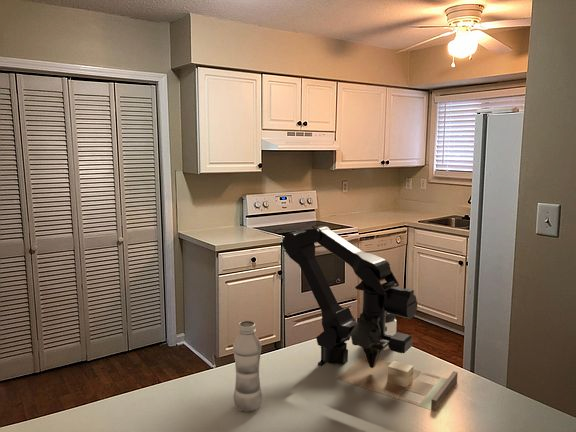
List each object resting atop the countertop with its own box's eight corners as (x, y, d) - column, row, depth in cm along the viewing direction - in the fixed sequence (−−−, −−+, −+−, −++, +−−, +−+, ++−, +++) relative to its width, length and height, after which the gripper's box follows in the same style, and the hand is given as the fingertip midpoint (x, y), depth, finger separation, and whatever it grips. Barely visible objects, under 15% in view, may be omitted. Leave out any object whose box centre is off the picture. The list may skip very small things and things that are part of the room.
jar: (379, 357, 133) (380, 316, 131) (359, 346, 140) (360, 308, 138) (401, 349, 138) (403, 310, 136) (381, 340, 145) (382, 302, 143)
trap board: (336, 384, 118) (336, 369, 118) (365, 360, 131) (365, 346, 130) (435, 417, 104) (436, 400, 103) (456, 387, 117) (457, 372, 116)
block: (387, 381, 116) (387, 366, 116) (393, 375, 120) (394, 360, 119) (406, 387, 113) (407, 372, 113) (412, 380, 117) (413, 365, 116)
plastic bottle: (240, 418, 103) (239, 331, 100) (229, 403, 109) (227, 321, 106) (267, 411, 106) (266, 326, 103) (255, 397, 112) (254, 316, 109)
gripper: (325, 310, 117) (324, 369, 120) (396, 327, 106) (393, 391, 109) (347, 298, 126) (345, 353, 129) (414, 313, 115) (411, 372, 118)
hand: (372, 367), depth 121 cm, fingers closed
